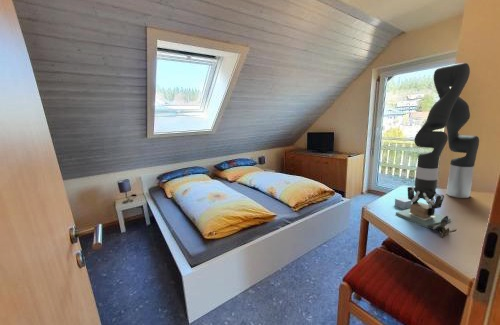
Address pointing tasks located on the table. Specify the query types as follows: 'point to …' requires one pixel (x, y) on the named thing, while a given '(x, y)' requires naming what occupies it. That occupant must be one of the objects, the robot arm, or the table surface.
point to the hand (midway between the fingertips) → (422, 212)
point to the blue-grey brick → (403, 202)
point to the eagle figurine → (443, 227)
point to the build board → (419, 220)
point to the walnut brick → (420, 209)
